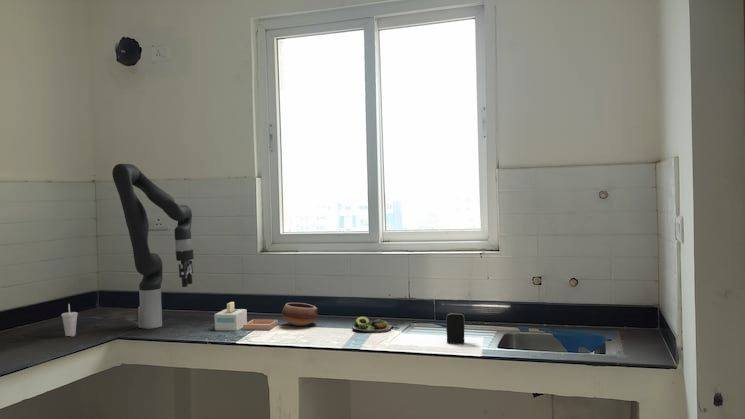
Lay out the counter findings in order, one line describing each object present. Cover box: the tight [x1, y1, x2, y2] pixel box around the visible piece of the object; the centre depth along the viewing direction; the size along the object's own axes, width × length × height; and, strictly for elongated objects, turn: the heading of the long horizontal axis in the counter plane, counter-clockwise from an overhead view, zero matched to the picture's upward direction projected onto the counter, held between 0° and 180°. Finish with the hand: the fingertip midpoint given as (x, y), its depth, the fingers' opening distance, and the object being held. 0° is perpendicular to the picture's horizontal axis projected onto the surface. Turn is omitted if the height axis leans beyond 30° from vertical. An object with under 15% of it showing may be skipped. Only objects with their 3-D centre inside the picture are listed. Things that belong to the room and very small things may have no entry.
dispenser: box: [214, 308, 248, 332], centre depth 269 cm, size 10×12×7 cm
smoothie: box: [60, 303, 79, 337], centre depth 261 cm, size 6×6×14 cm
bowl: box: [281, 302, 318, 327], centre depth 270 cm, size 16×16×10 cm
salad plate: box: [351, 316, 399, 334], centre depth 261 cm, size 19×18×5 cm
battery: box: [445, 312, 466, 345], centre depth 233 cm, size 7×4×11 cm, turn 78°
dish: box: [242, 319, 279, 331], centre depth 268 cm, size 12×11×2 cm
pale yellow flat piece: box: [226, 301, 236, 313], centre depth 269 cm, size 1×5×9 cm, turn 170°
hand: (187, 285), depth 271 cm, fingers open, 8 cm apart
